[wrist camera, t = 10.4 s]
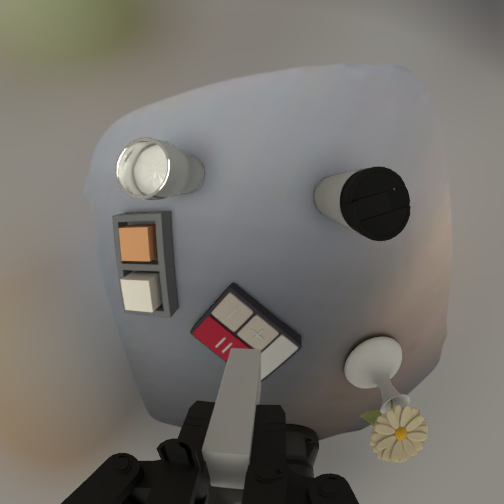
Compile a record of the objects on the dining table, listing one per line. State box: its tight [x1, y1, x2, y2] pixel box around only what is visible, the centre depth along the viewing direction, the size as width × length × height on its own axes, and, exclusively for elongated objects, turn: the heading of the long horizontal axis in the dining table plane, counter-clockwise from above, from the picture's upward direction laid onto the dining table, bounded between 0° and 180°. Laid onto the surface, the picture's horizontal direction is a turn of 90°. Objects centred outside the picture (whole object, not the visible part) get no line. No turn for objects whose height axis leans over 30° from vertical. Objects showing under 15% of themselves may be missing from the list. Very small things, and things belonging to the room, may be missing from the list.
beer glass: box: [116, 137, 204, 200], centre depth 33 cm, size 7×7×15 cm
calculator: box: [190, 283, 302, 382], centre depth 44 cm, size 11×4×15 cm
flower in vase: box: [344, 337, 428, 463], centre depth 33 cm, size 13×11×25 cm
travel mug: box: [314, 167, 410, 241], centre depth 30 cm, size 6×7×20 cm
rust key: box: [119, 224, 158, 261], centre depth 40 cm, size 5×5×4 cm
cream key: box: [120, 272, 163, 312], centre depth 41 cm, size 5×5×4 cm
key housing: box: [112, 211, 179, 318], centre depth 42 cm, size 16×9×4 cm, turn 0°
